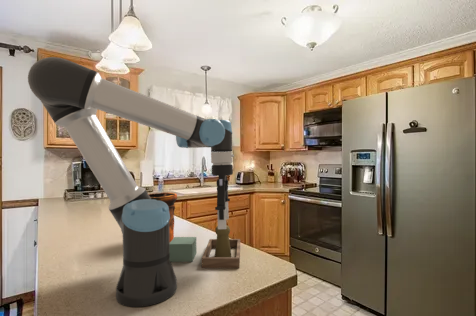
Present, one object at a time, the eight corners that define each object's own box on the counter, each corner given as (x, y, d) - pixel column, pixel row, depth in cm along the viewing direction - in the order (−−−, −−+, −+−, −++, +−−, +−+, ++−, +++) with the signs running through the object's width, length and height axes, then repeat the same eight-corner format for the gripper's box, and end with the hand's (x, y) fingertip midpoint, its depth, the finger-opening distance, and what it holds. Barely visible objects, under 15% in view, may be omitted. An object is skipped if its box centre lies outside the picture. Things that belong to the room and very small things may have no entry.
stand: (192, 261, 91) (192, 244, 91) (168, 261, 91) (168, 244, 91) (196, 253, 99) (196, 236, 99) (174, 253, 99) (174, 237, 99)
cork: (222, 252, 100) (222, 222, 100) (235, 255, 96) (234, 224, 96) (210, 256, 95) (210, 225, 95) (223, 260, 91) (223, 228, 91)
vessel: (170, 247, 104) (168, 196, 105) (136, 247, 107) (134, 197, 107) (183, 237, 119) (182, 191, 119) (153, 236, 121) (151, 192, 121)
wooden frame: (239, 267, 85) (239, 258, 85) (201, 267, 86) (201, 258, 85) (240, 246, 105) (240, 239, 105) (209, 246, 106) (209, 239, 105)
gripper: (230, 165, 83) (232, 233, 83) (233, 162, 108) (235, 215, 108) (206, 165, 83) (208, 234, 83) (215, 163, 108) (216, 215, 108)
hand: (223, 223), depth 95 cm, fingers open, 13 cm apart
